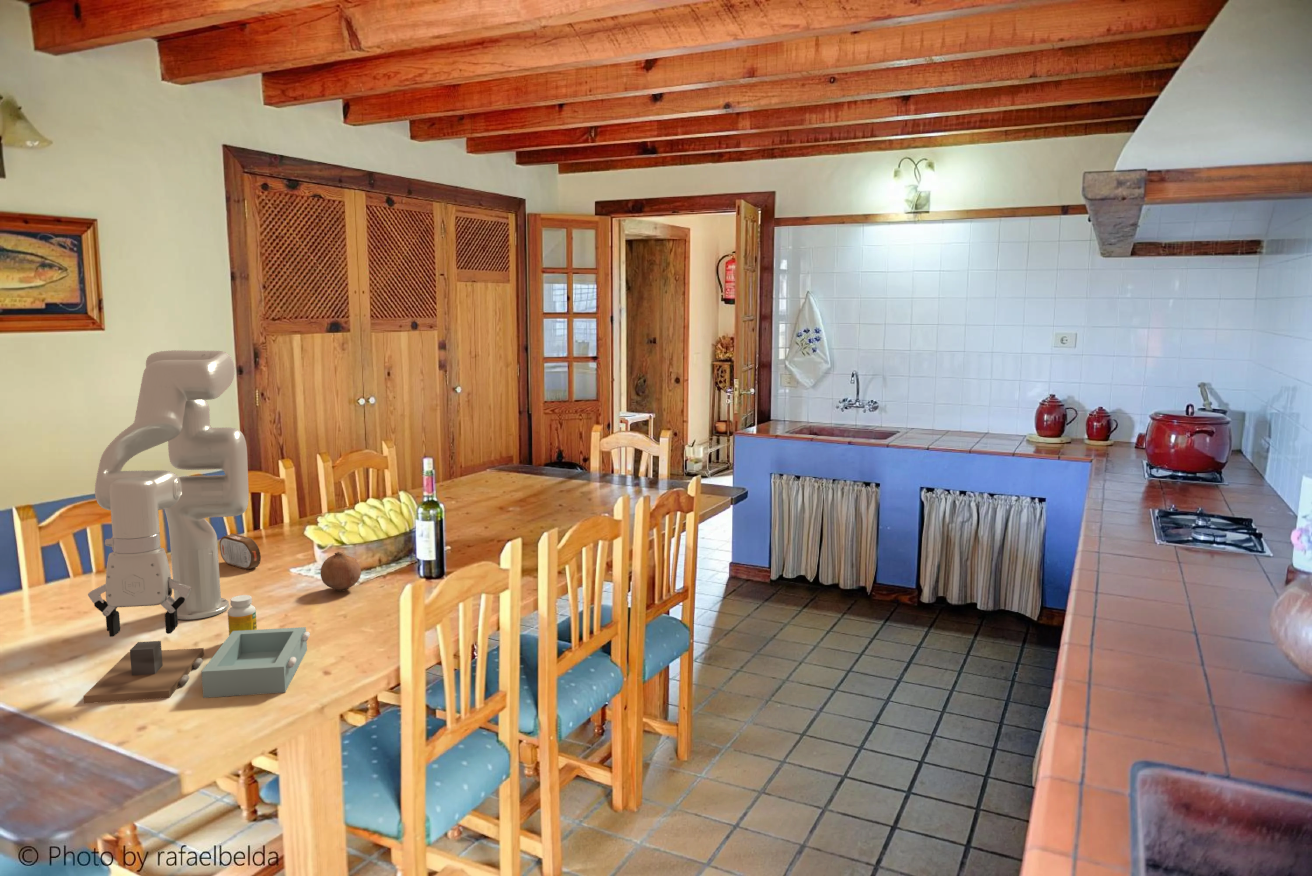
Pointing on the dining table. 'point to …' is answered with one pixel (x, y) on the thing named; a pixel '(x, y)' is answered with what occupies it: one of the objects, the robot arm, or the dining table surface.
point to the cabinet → (255, 662)
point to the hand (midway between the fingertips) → (143, 632)
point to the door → (146, 674)
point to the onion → (340, 572)
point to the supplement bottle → (241, 614)
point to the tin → (240, 551)
